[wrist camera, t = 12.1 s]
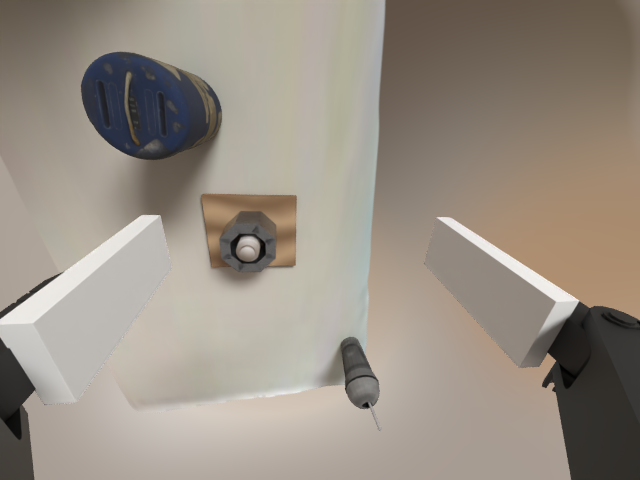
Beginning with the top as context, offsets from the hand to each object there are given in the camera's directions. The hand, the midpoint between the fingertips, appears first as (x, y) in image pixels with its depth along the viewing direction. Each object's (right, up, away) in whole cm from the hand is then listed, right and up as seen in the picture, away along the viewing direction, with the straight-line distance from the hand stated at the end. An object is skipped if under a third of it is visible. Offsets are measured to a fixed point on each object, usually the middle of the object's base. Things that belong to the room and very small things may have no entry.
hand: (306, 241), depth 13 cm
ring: (-12, +1, +35) cm, 37 cm away
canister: (-19, +20, +27) cm, 38 cm away
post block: (-12, +2, +36) cm, 38 cm away
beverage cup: (+8, -26, +53) cm, 60 cm away
